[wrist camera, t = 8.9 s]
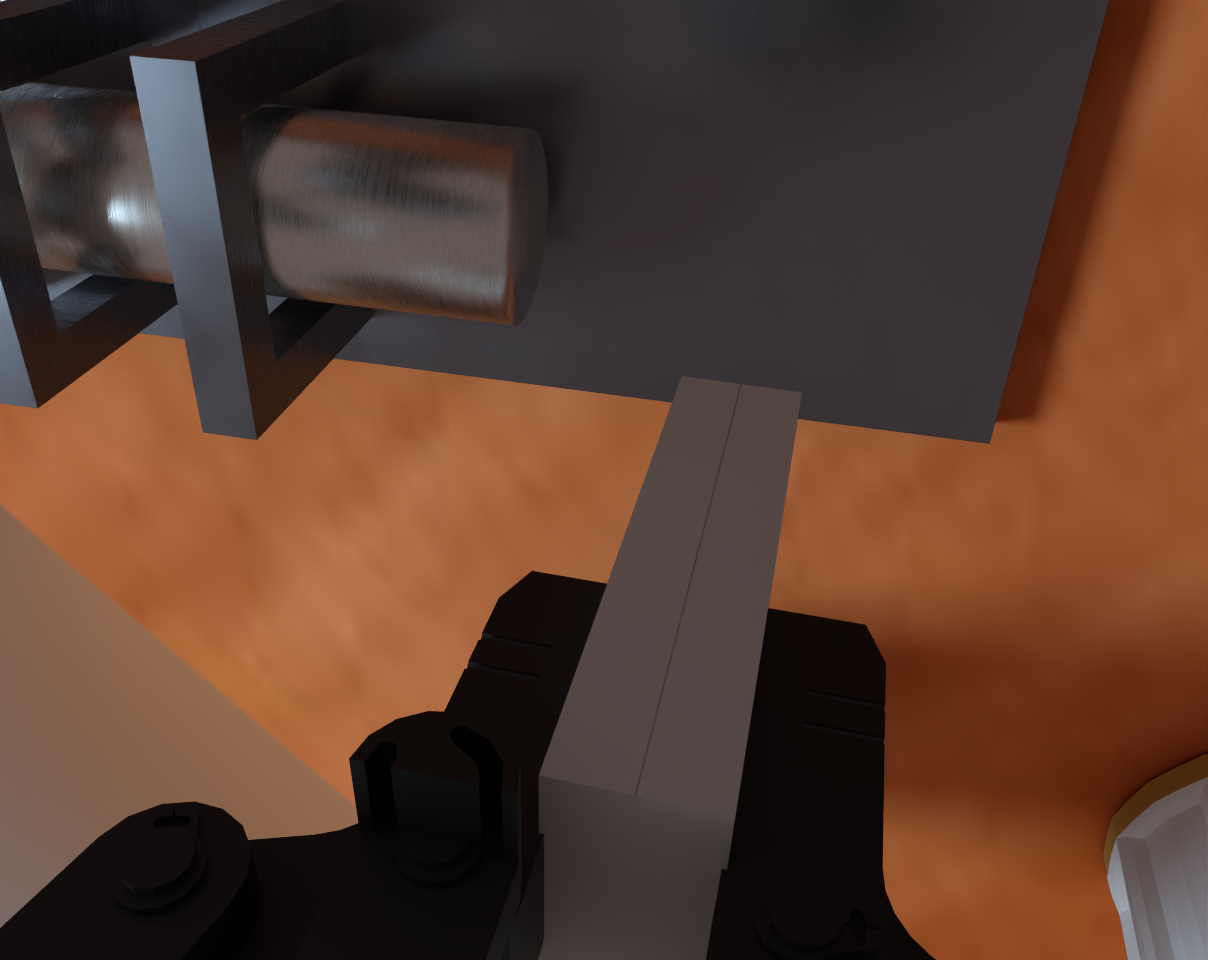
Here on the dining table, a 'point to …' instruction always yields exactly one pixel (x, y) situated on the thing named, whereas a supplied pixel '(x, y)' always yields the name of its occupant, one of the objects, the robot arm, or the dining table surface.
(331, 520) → the dining table surface
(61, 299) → the collar rail
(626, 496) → the dining table surface
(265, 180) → the tube
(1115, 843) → the cup
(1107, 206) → the dining table surface
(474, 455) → the dining table surface
